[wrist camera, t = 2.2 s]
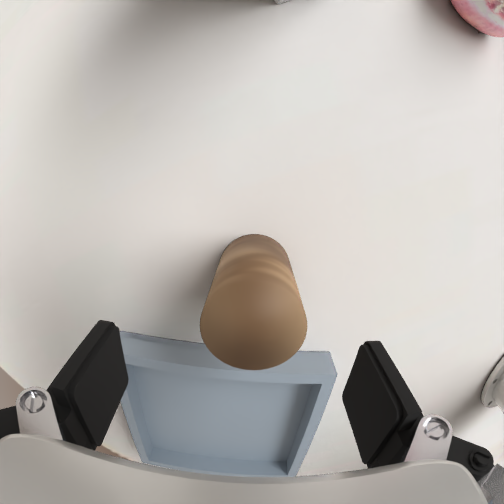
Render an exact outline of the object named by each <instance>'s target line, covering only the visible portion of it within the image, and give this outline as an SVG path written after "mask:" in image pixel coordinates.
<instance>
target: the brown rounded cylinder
mask: <svg viewBox="0 0 504 504" xmlns="http://www.w3.org/2000/svg"><path fill="white" fill-rule="evenodd" d="M200 332H201V336H202V339H203V341H204V343H205V345H206V347H207V348H208V349H209V351H210V352H211V353H212V354H213V355H214V356H215V357H216V358H218V359H219V360H220V361H222V362H224V363H225V364H228V365H230V366H232V367H235V368H239V369H244V370H264V369H269V368H272V367H275V366H278V365H280V364H282V363H284V362H286V361H287V360H288V359H290V358H291V357H292V356H293V355H295V354H296V352H297V351H298V350H299V349H300V347H301V346H302V344H303V342H304V340H305V337H306V333H307V319H306V315H305V311H304V308H303V304H302V301H301V298H300V294H299V291H298V288H297V284H296V281H295V278H294V275H293V271H292V268H291V265H290V262H289V258H288V256H287V253H286V252H285V250H284V248H283V247H282V246H281V245H280V244H279V243H278V242H277V241H275V240H274V239H272V238H270V237H267V236H264V235H259V234H251V235H245V236H242V237H239V238H237V239H236V240H234V241H233V242H231V243H230V244H229V245H228V246H227V248H226V249H225V250H224V252H223V254H222V256H221V259H220V262H219V265H218V268H217V271H216V273H215V276H214V279H213V282H212V285H211V288H210V291H209V293H208V296H207V299H206V302H205V305H204V308H203V311H202V314H201V318H200Z"/></svg>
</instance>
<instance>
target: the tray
mask: <svg viewBox="0 0 504 504" xmlns="http://www.w3.org/2000/svg"><path fill="white" fill-rule="evenodd" d="M120 338H121V344H122V349H123V354H124V359H125V364H126V368H127V373H128V378H129V380H128V385H127V388H126V390H125V392H124V394H123V396H122V399H121V405H122V408H123V411H124V414H125V417H126V420H127V423H128V426H129V429H130V432H131V435H132V437H133V440H134V443H135V446H136V448H137V451H138V453H139V456H140V458H141V461H142V462H143V463H147V464H151V465H156V466H160V467H165V468H170V469H175V470H181V471H187V472H195V473H203V474H212V475H224V476H240V477H296V475H297V473H298V470H299V468H300V466H301V464H302V462H303V460H304V458H305V455H306V453H307V451H308V449H309V446H310V444H311V442H312V439H313V437H314V435H315V432H316V430H317V428H318V425H319V423H320V420H321V418H322V415H323V413H324V410H325V407H326V405H327V402H328V399H329V397H330V394H331V391H332V388H333V386H334V383H335V380H336V377H337V372H336V369H335V366H334V363H333V360H332V357H331V354H330V352H313V351H297V352H296V354H295V355H293V356H292V357H291V358H290V359H288V360H287V361H286V362H284V363H282V364H280V365H278V366H275V367H272V368H269V369H264V370H244V369H239V368H235V367H232V366H230V365H228V364H225V363H224V362H222V361H220V360H219V359H218V358H216V357H215V356H214V355H213V354H212V353H211V352H210V351H209V349H208V348H207V347H206V345H205V344H202V343H194V342H187V341H179V340H172V339H165V338H159V337H153V336H147V335H141V334H135V333H129V332H124V331H121V332H120Z"/></svg>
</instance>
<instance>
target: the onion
mask: <svg viewBox="0 0 504 504" xmlns="http://www.w3.org/2000/svg"><path fill="white" fill-rule="evenodd" d="M451 2H452V5H453V6H454V8H455V9H456V11H457V12H458V14H459V15H460V16H461V17H462V18H463V19H464V20H465V21H466V22H468V23H469V24H470V25H471V26H473V27H475V28H476V30H477V31H478V33H481V32H482V33H484V34H487V35H490V36H494V37H504V0H451Z"/></svg>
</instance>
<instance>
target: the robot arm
mask: <svg viewBox="0 0 504 504" xmlns="http://www.w3.org/2000/svg"><path fill="white" fill-rule="evenodd" d="M128 380H129V378H128V373H127V368H126V364H125V359H124V354H123V349H122V344H121V338H120V332H119V328H118V327H116V326H115V324H114V323H113V322H109V321H103V320H99V321H98V322H97V324H96V325H95V326H94V327H93V329H92V330H91V331H90V333H89V334H88V335H87V336H86V338H85V339H84V340H83V341H82V343H81V344H80V345H79V347H78V348H77V349H76V351H75V352H74V353H73V354H72V356H71V357H70V358H69V360H68V361H67V363H66V364H65V365H64V367H63V368H62V369H61V371H60V372H59V373H58V375H57V376H56V378H55V379H54V380H53V382H52V383H51V385H50V386H49V387H48V389H47V390H45V389H43V388H40V387H30V388H27V389H25V390H23V391H22V392H21V393H20V394H19V395H18V397H17V399H16V406H13V407H9V408H5V409H1V410H0V504H504V468H503V467H502V466H500V465H499V464H496V465H495V466H494V465H493V457H492V455H491V453H490V452H489V451H488V450H487V449H485V448H483V447H481V446H478V445H475V444H473V443H470V442H467V441H465V440H462V439H460V438H457V437H455V436H452V434H453V429H452V426H451V424H450V423H449V421H448V420H447V419H445V418H444V417H442V416H440V415H435V414H430V415H427V416H425V417H424V416H423V414H422V413H421V412H422V411H421V409H420V407H419V405H418V404H417V402H416V400H415V398H414V397H413V395H412V393H411V391H410V390H409V388H408V386H407V385H406V383H405V381H404V379H403V378H402V376H401V374H400V373H399V371H398V369H397V368H396V366H395V364H394V363H393V361H392V359H391V358H390V356H389V355H388V353H387V351H386V350H385V348H384V347H383V345H382V343H381V342H380V341H366V342H365V343H364V345H361V346H360V348H359V350H358V353H357V356H356V359H355V362H354V365H353V367H352V370H351V373H350V376H349V378H348V381H347V383H346V386H345V389H344V391H343V395H342V399H343V403H344V406H345V409H346V412H347V415H348V418H349V421H350V424H351V427H352V430H353V433H354V437H355V440H356V443H357V446H358V449H359V452H360V456H361V459H362V462H363V463H364V464H367V467H368V469H363V470H356V471H349V472H342V473H334V474H324V475H313V476H297V477H240V476H224V475H212V474H203V473H195V472H187V471H181V470H174V469H168V468H163V467H158V466H153V465H148V464H143V463H139V462H135V461H131V460H127V459H123V458H119V457H115V456H112V455H108V454H104V453H101V452H98V451H95V449H96V447H97V446H100V445H101V444H102V442H103V440H104V437H105V435H106V433H107V430H108V428H109V426H110V423H111V421H112V419H113V416H114V414H115V412H116V410H117V407H118V405H119V403H120V401H121V399H122V396H123V394H124V392H125V390H126V388H127V385H128ZM481 401H482V402H483V404H484V405H485V407H488V408H491V407H495V406H499V408H500V409H501V410H502V412H503V413H504V357H503V358H502V359H501V360H500V362H499V363H498V364H497V366H496V367H495V369H494V370H493V371H492V373H491V375H490V376H489V378H488V380H487V382H486V384H485V386H484V388H483V391H482V396H481Z"/></svg>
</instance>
